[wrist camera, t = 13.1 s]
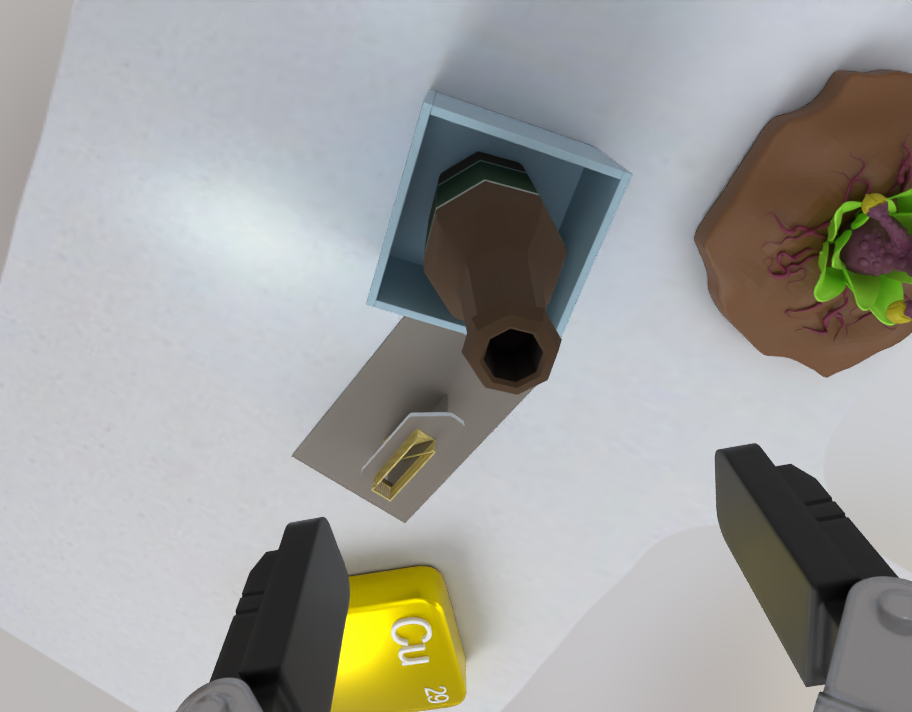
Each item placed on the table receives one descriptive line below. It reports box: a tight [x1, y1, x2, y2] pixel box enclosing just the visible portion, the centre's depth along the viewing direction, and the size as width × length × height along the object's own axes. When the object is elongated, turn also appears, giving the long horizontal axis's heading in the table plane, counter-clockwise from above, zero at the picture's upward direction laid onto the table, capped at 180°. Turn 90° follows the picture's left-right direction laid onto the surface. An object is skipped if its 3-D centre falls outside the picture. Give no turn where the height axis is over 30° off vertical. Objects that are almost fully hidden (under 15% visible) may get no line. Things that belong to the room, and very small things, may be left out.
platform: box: [292, 316, 535, 523], centre depth 51 cm, size 12×18×7 cm, turn 142°
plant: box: [694, 70, 912, 377], centre depth 42 cm, size 20×20×11 cm
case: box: [366, 90, 632, 338], centre depth 41 cm, size 12×12×10 cm
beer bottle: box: [423, 151, 567, 395], centre depth 34 cm, size 8×8×24 cm
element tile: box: [331, 566, 466, 712], centre depth 62 cm, size 15×15×5 cm
